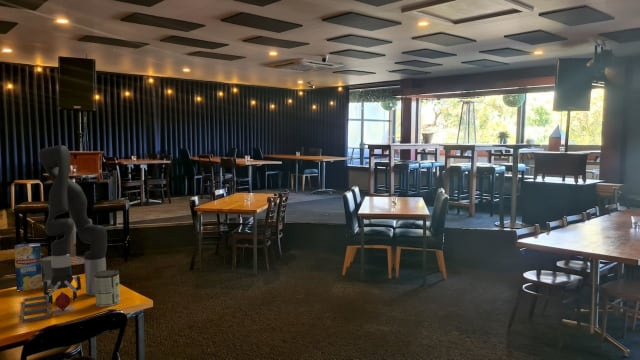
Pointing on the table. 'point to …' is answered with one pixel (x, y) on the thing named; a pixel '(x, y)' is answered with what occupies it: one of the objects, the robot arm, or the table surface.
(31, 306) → the tray
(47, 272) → the coffeepot
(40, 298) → the tray
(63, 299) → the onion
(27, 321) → the tray
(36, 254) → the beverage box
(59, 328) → the table surface
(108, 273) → the coffee can
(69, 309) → the tile
